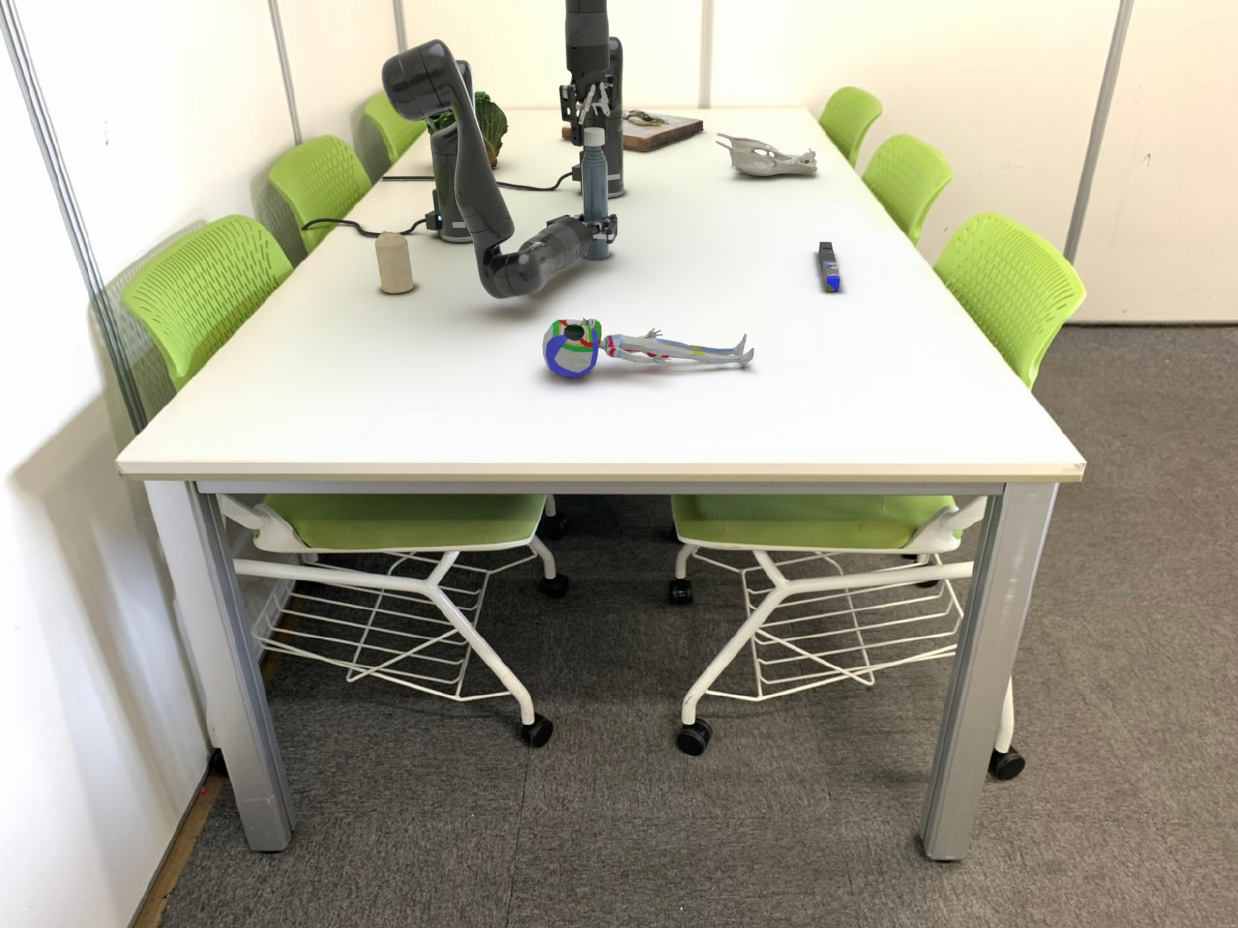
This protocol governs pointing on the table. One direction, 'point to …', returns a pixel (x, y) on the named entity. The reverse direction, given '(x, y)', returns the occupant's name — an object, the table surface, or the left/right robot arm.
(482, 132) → the vegetable
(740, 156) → the anatomical model
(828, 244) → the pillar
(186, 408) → the table surface
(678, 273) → the table surface
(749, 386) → the table surface
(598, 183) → the bottle
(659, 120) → the plaque
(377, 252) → the candle
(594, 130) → the cap
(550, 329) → the toy
